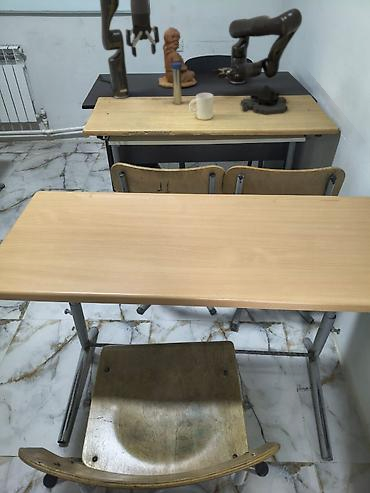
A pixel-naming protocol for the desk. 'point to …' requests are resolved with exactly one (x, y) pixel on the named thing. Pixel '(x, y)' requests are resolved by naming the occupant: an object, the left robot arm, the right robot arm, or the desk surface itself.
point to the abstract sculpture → (265, 102)
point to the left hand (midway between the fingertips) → (144, 55)
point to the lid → (176, 65)
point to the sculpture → (172, 56)
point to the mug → (203, 106)
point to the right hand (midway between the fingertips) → (215, 74)
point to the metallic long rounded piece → (177, 86)
